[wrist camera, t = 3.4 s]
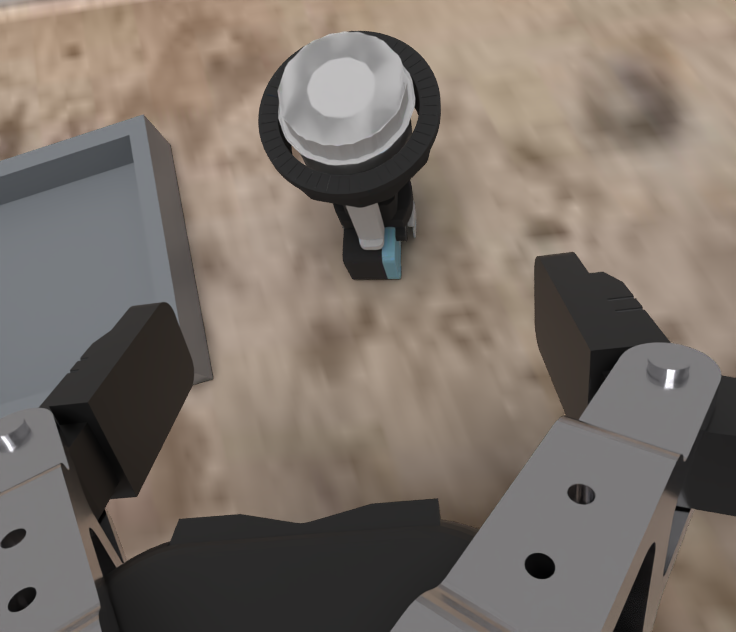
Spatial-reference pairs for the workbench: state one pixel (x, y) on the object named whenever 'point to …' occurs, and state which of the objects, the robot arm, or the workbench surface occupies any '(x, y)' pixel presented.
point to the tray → (88, 253)
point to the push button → (355, 137)
